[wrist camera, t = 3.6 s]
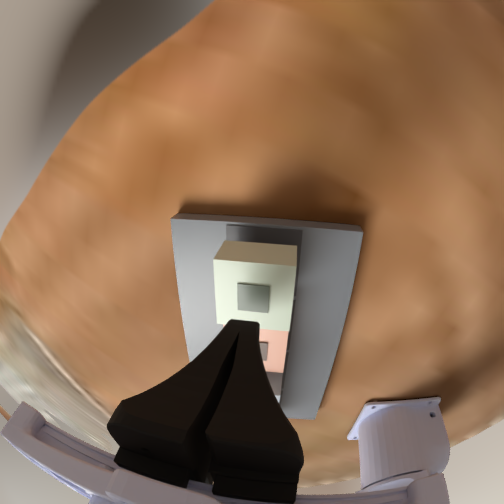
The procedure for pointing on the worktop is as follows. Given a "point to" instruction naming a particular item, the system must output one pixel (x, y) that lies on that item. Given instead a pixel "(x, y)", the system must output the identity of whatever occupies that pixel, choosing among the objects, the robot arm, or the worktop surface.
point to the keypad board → (304, 300)
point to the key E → (255, 283)
